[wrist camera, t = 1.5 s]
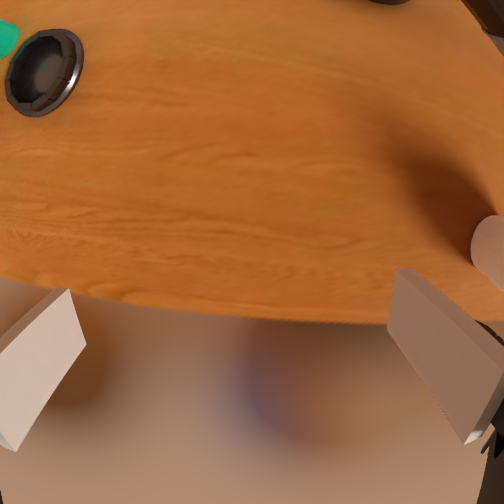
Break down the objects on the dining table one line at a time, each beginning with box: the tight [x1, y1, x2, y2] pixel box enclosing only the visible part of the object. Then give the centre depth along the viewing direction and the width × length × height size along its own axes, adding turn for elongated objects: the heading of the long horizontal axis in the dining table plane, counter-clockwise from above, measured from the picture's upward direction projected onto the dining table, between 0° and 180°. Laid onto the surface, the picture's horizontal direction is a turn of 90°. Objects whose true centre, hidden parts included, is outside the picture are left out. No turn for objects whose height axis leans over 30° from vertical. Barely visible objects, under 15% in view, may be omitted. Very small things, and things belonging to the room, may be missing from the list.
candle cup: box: [5, 29, 84, 117], centre depth 27 cm, size 13×13×3 cm
